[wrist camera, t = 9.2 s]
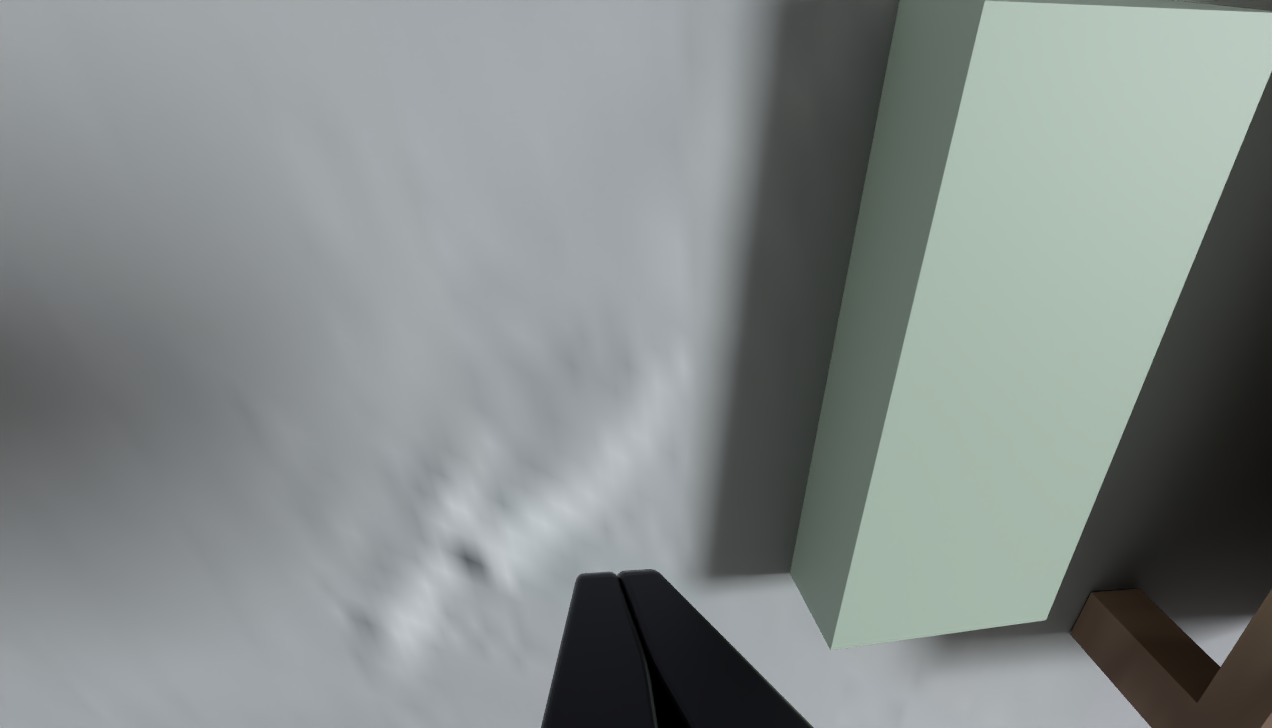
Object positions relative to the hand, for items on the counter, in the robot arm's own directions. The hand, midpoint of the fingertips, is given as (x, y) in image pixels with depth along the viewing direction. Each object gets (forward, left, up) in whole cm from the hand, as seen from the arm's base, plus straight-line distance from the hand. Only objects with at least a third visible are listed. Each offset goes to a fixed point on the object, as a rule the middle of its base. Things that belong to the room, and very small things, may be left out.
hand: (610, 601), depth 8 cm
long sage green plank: (0, -8, -7) cm, 10 cm away
